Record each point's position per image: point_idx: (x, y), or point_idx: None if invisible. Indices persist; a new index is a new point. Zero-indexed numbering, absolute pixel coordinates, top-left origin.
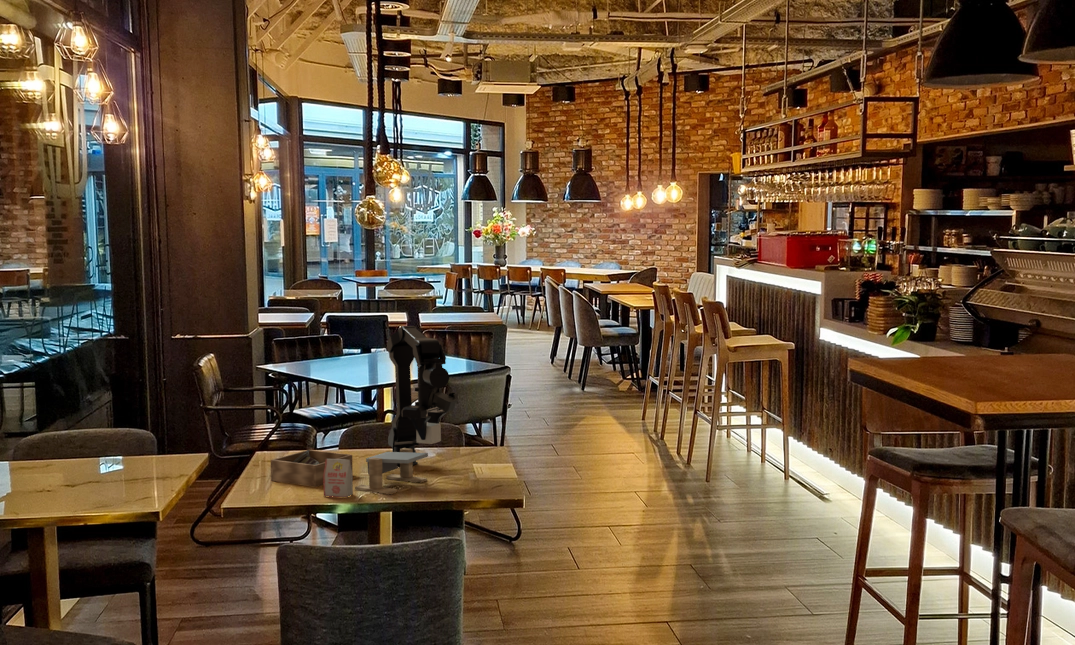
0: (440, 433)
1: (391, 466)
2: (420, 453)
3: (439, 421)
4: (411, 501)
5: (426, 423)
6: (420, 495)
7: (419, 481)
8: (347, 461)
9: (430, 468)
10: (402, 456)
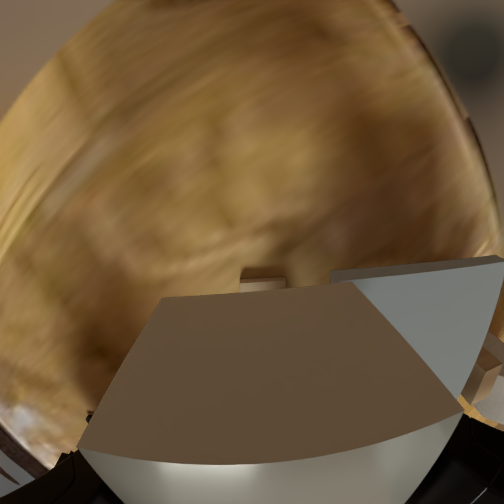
0: (141, 341)
1: None
2: None
3: (41, 483)
4: (478, 158)
5: (493, 474)
6: (428, 168)
7: (284, 286)
8: None
9: (91, 367)
10: (434, 352)
